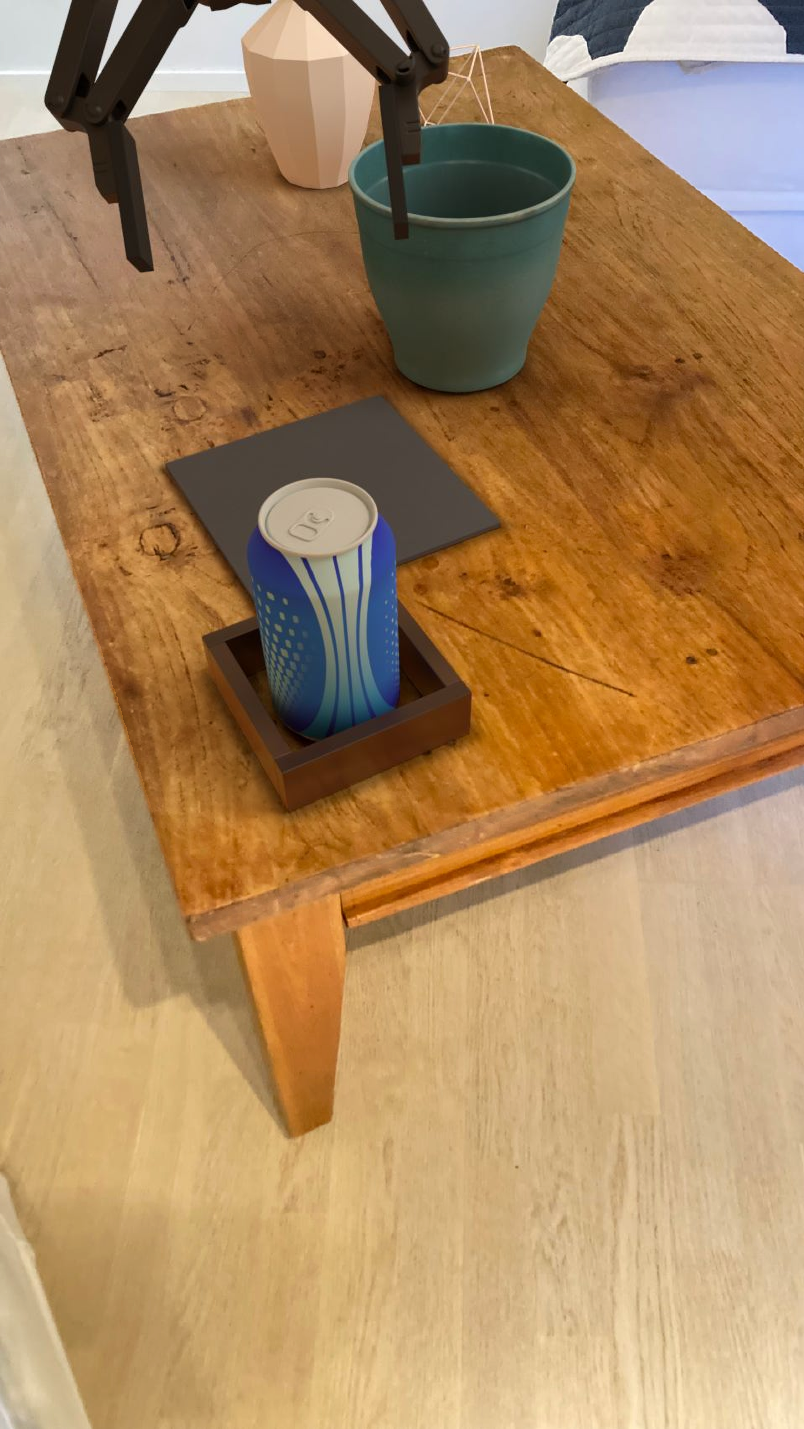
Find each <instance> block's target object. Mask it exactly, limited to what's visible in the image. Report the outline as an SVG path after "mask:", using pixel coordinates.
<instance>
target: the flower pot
mask: <svg viewBox="0 0 804 1429" xmlns="http://www.w3.org/2000/svg"><path fill="white" fill-rule="evenodd" d="M435 124H436V125H429V124H428V125H426V126H424V125H423V126H421V132H422V141H423V153H422V157H421V161H420V164H415V165H407V166H402V168H403V177H404V186H405V195H406V204H407V214H408V223H409V239H402V240H395V238H394V229H393V220H392V211H391V202H390V193H389V184H388V175H387V166H386V157H385V148H384V139H383V137H382V138H380V139H378V140H375V141H374V142H372V143H370V144H369V145H367V146H366V147H364V148H363V149H362V150H360V152H359V154H357V156H356V157H355V158H354V159H353V161H352V162H351V164H350V166H349V170H348V181H347V182H348V186H349V189H350V191H351V193H352V197H353V198H352V199H353V206H354V212H355V218H356V222H357V226H358V227H357V228H358V233H359V242H360V247H361V255H362V260H363V266H364V270H365V274H366V279H367V282H368V287H369V290H370V292H371V295H372V298H373V301H374V303H375V306H376V308H377V310H378V313H379V315H380V317H381V320H382V322H383V324H384V327H385V329H386V332H387V335H388V337H389V340H390V342H391V345H392V349H393V358H394V362H395V365H396V368H397V369H398V370H399V371H400V373H401V374H402V375H403V376H405V378H407V379H408V380H410V381H412V382H413V383H415V384H417V385H419V386H421V387H425V388H427V389H430V390H435V391H441V392H447V393H472V392H477V391H478V392H479V391H483V390H487V389H491V388H495V387H496V386H500V385H502V384H504V383H505V382H508V381H509V380H511V379H512V378H513V377H514V376H515V375H517V374H518V373H519V372H520V371H521V370H522V368H523V366H524V365H525V363H526V359H527V349H528V344H529V341H530V339H531V337H532V335H533V332H534V330H535V328H536V325H537V323H538V321H539V318H540V316H541V314H542V311H543V309H544V307H545V305H546V303H547V300H548V298H549V295H550V293H551V289H552V287H553V284H554V281H555V279H556V278H555V277H556V274H557V269H558V265H559V260H560V255H561V251H562V250H561V249H562V245H563V238H564V234H565V226H566V219H567V217H568V213H569V208H570V200H571V195H572V190H573V189H574V186H575V183H576V179H577V167H576V163H575V161H574V158H573V156H572V155H571V154H570V153H569V152H568V151H567V150H566V149H565V148H564V147H563V146H562V145H560V144H559V143H557V142H556V141H554V140H553V139H550V138H548V137H546V136H544V135H541V134H539V133H536V132H533V131H531V130H528V129H524V128H520V127H516V126H510V125H505V124H500V123H499V124H498V123H494V124H492V123H490V122H489V123H487V122H447V123H440V124H437V123H435Z"/></svg>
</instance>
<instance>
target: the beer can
mask: <svg viewBox="0 0 804 1429" xmlns="http://www.w3.org/2000/svg"><path fill="white" fill-rule="evenodd" d="M247 560H248V566H249V572H250V578H251V583H252V589H253V595H254V601H255V604H254V606H255V611H256V615H257V618H258V623H259V629H260V635H261V641H262V646H263V652H264V658H265V664H266V669H265V670H266V675H267V681H268V687H269V692H270V696H271V697H270V698H271V701H272V702H271V703H272V707H273V710H274V712H275V713H276V715H277V717H278V718H279V720H280V721H281V722H282V723H283V724H284V726H286V727H287V728H288V729H290V730H291V731H293V732H294V733H296V734H298V735H300V736H302V737H304V738H306V739H308V740H310V741H313V742H315V743H316V742H318V741H321V740H323V739H325V738H328V737H330V736H332V735H335V734H337V733H339V732H342V731H344V730H347V729H349V728H351V727H354V726H356V725H358V724H361V723H363V722H365V721H368V720H370V719H372V718H375V717H377V716H380V715H382V714H384V713H387V712H389V711H391V710H394V709H396V708H397V705H398V702H399V699H400V695H401V694H400V693H401V682H400V665H399V645H398V614H397V598H398V590H397V588H398V586H397V584H398V583H397V566H396V551H395V540H394V536H393V533H392V531H391V529H390V527H389V525H388V524H387V522H386V521H385V520H384V518H383V517H382V516H381V515H380V514H379V513H378V512H377V507H376V504H375V502H374V500H373V499H372V497H371V496H370V495H369V494H368V493H367V492H366V491H364V490H363V489H362V488H360V487H358V486H357V485H355V484H352V483H350V482H347V481H343V480H338V479H332V478H312V479H305V480H301V481H297V482H294V483H291V484H288V485H286V486H284V487H282V488H280V489H279V490H277V491H275V492H274V493H273V494H272V495H270V496H269V497H268V498H267V499H266V501H265V502H264V503H263V505H262V507H261V509H260V511H259V515H258V524H257V526H256V527H255V529H254V530H253V532H252V534H251V536H250V539H249V542H248V546H247Z"/></svg>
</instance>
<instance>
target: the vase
mask: <svg viewBox="0 0 804 1429" xmlns="http://www.w3.org/2000/svg"><path fill="white" fill-rule="evenodd" d="M240 41H241V42H240V43H241V50H242V58H243V60H242V61H243V67H244V73H245V77H246V81H247V86H248V90H249V95H250V98H251V100H252V103H253V105H254V108H255V111H256V113H257V116H258V120H259V121H260V124H261V127H262V130H263V132H264V135H265V137H266V141H267V143H268V146H269V149H270V151H271V153H272V155H273V157H274V159H275V162H276V165H277V166H278V169H279V171H280V174H281V175H282V177H284V179H285V180H287V182H288V183H289V184H292V185H295V186H299V187H302V188H306V189H316V190H323V189H325V190H326V189H330V188H332V189H333V188H337V187H340V186H342V185H343V184H345V183H347V182H349V181H348V170H349V166H350V164H351V162H352V161H353V159H354V158H355V157H356V156H357V154H359V153H360V152H361V149H362V146H363V143H364V140H365V137H366V134H367V130H368V125H369V120H370V114H371V110H372V105H373V100H374V94H375V91H376V90H375V89H376V79H375V78H374V77H373V76H372V75H371V74H370V73H369V72H368V71H367V70H366V69H365V68H364V67H363V66H362V65H361V64H360V63H359V62H358V61H357V60H356V59H355V58H354V57H353V56H352V55H351V54H350V53H349V52H348V51H347V50H346V49H345V48H344V47H343V46H342V45H341V44H340V43H339V42H338V41H337V40H336V39H335V38H334V37H333V36H332V35H331V34H330V33H329V32H328V31H327V30H326V29H325V28H324V27H323V26H322V25H321V24H320V23H319V22H318V21H317V20H316V19H315V18H314V17H313V16H312V15H311V14H310V13H309V12H308V11H304V10H303V9H301V8H300V7H299V6H298V5H297V4H296V3H295V2H294V1H293V0H276V1H275V2H274V3H272V4H271V6H270V7H269V8H268V9H267V10H266V11H265V12H264V13H263V14H262V15H261V17H259V18H258V19H257V20H256V21H255V23H254V24H253V25H252V26H251V27H250V28H249V29H248V30H246V32H245V33H244V35H243V36H241V38H240Z"/></svg>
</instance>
